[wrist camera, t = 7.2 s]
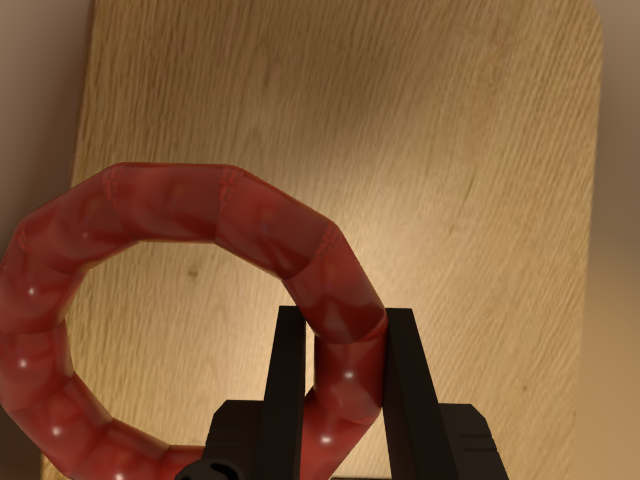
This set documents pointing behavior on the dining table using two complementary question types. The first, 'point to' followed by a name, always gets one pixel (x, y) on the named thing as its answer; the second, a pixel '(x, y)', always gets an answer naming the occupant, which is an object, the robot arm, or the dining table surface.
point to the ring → (181, 227)
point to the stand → (348, 479)
